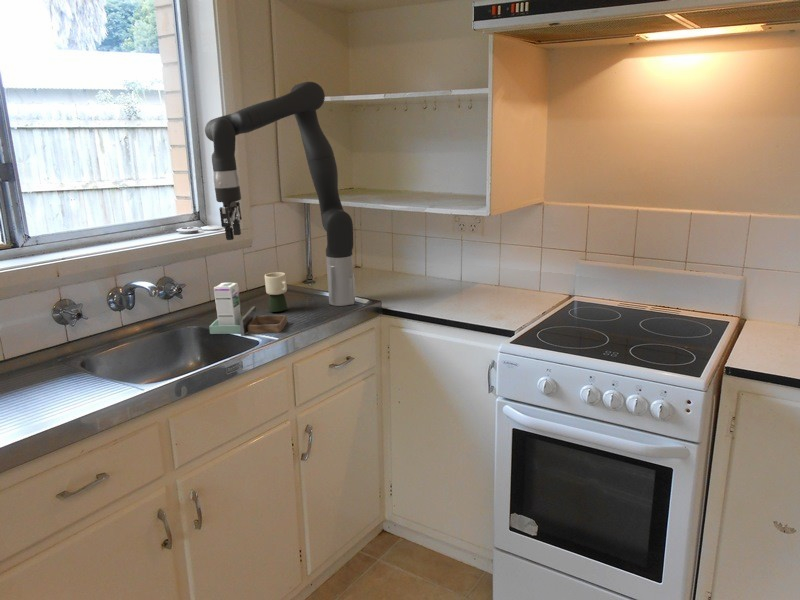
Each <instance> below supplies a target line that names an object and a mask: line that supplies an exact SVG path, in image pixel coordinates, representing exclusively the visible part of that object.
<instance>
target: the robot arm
mask: <svg viewBox="0 0 800 600" xmlns="http://www.w3.org/2000/svg"><path fill="white" fill-rule="evenodd" d="M324 91H325V90H324V89H323V87H322V86H321V85H319V84H318V83H317V82H314V81H305V82H301V83H297V84H295V85H294V86H292V87H291V89H290V92H288V93H286V94H284V95H281V96H279V97H277V98H272V99H269V100H265V101H262V102H257V103H255V104H252V105H248V106H246V107H244V108H242V109H238V110H237V111H235V112H231V113H228V114H225V115H221V116H218V117H216V118H215V117H214V118H212V119H210V120H209V121H208V122H207V123H206V125H205V127H204V132H205V136H206V138H207V139H208V140H209V141H211V142H212V143H213V153H212V154H211V164H212V171H213V186H214V191H215V201H216V202H217V203H222V207H221V206H220V207H219V216H220V223H221V228H224V232H225V239H226V240H227V241H233V240H234V239H235V236H241V234H242V231H241V230H242V229H241V220H243V219H242V218H243V217H242V213H241V212H242V211H241V205H240V204H241V203H240V201H241V200H242V193H241V187H240V178H239V174H238V168H237V163H236V162H237V160H236V156H235V155H236V154H235V153H236V136H239V135H242V134H247V133H248V134H249V133H251V132H254V131H256V130H258V129H261V128H263V127H266V126H268V125H271V124H273V123H275V122H278V121H279V120H281V119H285V118H287V117H290V116H294V118H295V120H296V123H297V126H298V130H299V132H300V136H301V141H302V142H301V143H302V145H303V149H304V152H305V153H304V154H305V158H306V163H307V166H308V170H309V173H310V176H311V180H312V183H313V185H314V190H315V193H316V195H317V199H318V204H319V209H320V211H319V212H320V216H321V217H320V218H321V225H322V228H323V229H324V230H325V232H326V241H327V242H326V243H327V244H326V248H325V257H326V260H325V261H326V273H327V275H326V276H327V289H328V302H329V305H331V306H335V307H336V306H337V307H338V306H339V307H340V306H341V307H343V306H350V305H355V303H356V301H355V298H356V297H357V296H356V295H357V294H356V278H355V274H354V260H353V259H354V258H353V249H354V223H353V219H352V217H351V216H350V214H349V213H348V212H346V211H345V210H344V208H343V205H342V202H341V198H340V195H339V187H338V186H339V185H338V184H339V183H338V182H339V180H338V178H339V175H338V166H337V162H336V158H335V153H334V150H333V147H332V146H331V144H330V142H329V140H328V138H327V137H326V135H325V133H324V131H323V130H322V128H321V126H320V122H319V120H318V119H319V118H318V115H317V114H318V113H317V110H319V109H320V108H322V107H323V104H324V102H325V99H326V95H325V92H324Z"/></svg>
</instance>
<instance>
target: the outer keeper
mask: <svg viewBox="0 0 800 600" xmlns="http://www.w3.org/2000/svg"><path fill="white" fill-rule="evenodd" d="M243 316H244V315H242V317H243ZM208 328H209V334H210V335H221V334H222V335H223V334H225V335H227V334H229V335H232V334H234V335H235V334H241V330H240V325H227V326H219V324H218V318H216V319H215V320H214V321H213V322H212V323H211V324H210V325H209V327H208Z"/></svg>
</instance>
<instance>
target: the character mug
mask: <svg viewBox="0 0 800 600" xmlns="http://www.w3.org/2000/svg"><path fill="white" fill-rule="evenodd" d="M264 284H265V292H266V294H268V295H269V297H268V311H269V312H271V313H274V312H275V313H277V312H280V313H282V311H287V310H288V303H287V300H286V296H285V293H286V292H287V290H288V284H287V276H286V273H285V272H280V271H279V272H278V271H276V272H269V273H265V274H264Z"/></svg>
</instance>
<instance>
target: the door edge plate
mask: <svg viewBox="0 0 800 600" xmlns="http://www.w3.org/2000/svg"><path fill="white" fill-rule="evenodd" d="M242 316H243V317H242V318H241V319H240V320H239V321H240V330H241V333H240V336H241V337H245V336H246V334H248V324H249V323H250V322H251V321H252V320H253V319H254V318H255V317H256V316H258V315H257V307H256V306H255V305H254V306H252V307H250V309H248V311H247V312H246V313H245V314H244V315H242Z"/></svg>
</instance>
